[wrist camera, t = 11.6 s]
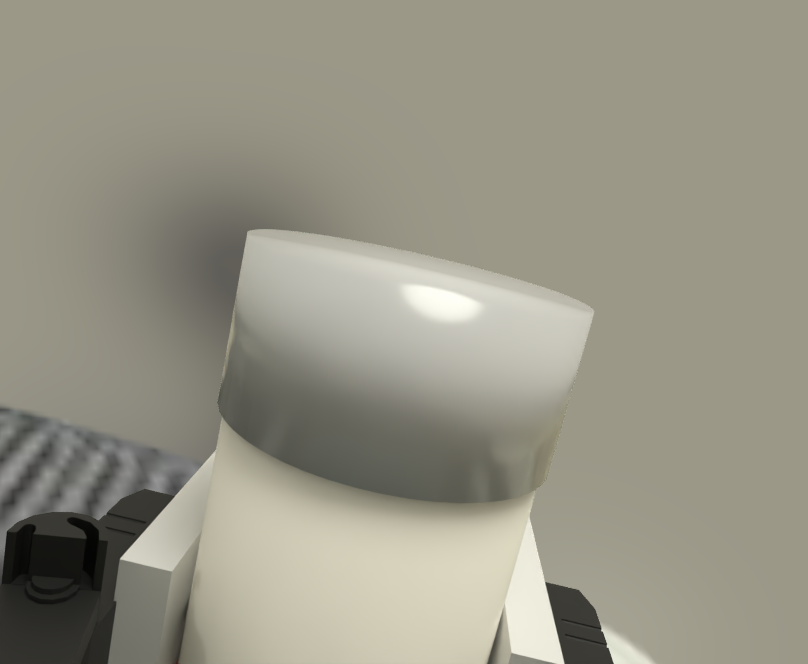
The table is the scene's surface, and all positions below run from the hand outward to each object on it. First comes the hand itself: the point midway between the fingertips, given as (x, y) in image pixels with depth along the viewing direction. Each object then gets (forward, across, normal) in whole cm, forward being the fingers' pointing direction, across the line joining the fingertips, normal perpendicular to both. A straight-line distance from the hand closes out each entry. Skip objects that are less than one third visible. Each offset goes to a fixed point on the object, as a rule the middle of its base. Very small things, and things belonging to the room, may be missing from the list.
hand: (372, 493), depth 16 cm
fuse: (-5, 0, -9) cm, 10 cm away
